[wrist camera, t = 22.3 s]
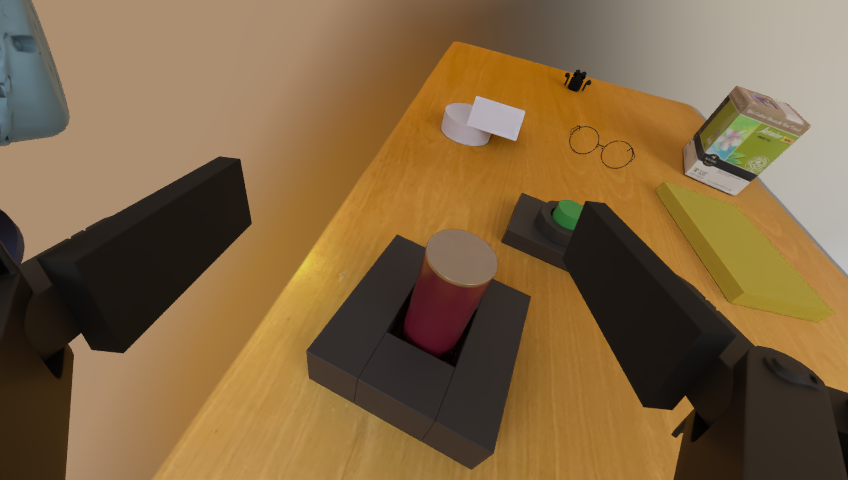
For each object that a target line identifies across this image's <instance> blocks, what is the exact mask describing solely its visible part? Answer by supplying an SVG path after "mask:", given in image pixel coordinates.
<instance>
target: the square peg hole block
mask: <svg viewBox="0 0 848 480" xmlns="http://www.w3.org/2000/svg"><path fill="white" fill-rule="evenodd" d="M425 250H426V248H425V247H423V246H421V245H419V244H416V243H414V242H412V241H410V240H408V239H406V238H403V237H401V236H399V235H396V236H395V238H394V239H393V240H392V242H391V243H390V244H389V245H388V247H387V248H386V249H385V251H384V252H383V253H382V254H381V256H380V257H379V258H378V260H377V261H376V262H375V263H374V265H373V266H372V267H371V269H370V270H369V271H368V272H367V274H366V275H365V276H364V278H363V279H362V280H361V281H360V283H359V284H358V285H357V287H356V288H355V289H354V290H353V292H352V293H351V294H350V296H349V297H348V298H347V299H346V301H345V302H344V303H343V305H342V306H341V307H340V308H339V310H338V311H337V312H336V314H335V315H334V316H333V317H332V319H331V320H330V321H329V322H328V324H327V325H326V326H325V328H324V329H323V330H322V331H321V333H320V334H319V335H318V337H317V338H316V339H315V340H314V342H313V343H312V344H311V346H310V347H309V348H308V349H307V351H306V352H307V362H308V372H309V378H310V379H312V380H313V381H315V382H317V383H319V384H321V385H322V386H324V387H326V388H328V389H329V390H331V391H333V392H335V393H336V394H338V395H340V396H342V397H344V398H345V399H347V400H349V401H351V402H352V403H354V404H356V405H358V406H360V407H361V408H363V409H365V410H367V411H368V412H370V413H372V414H374V415H375V416H377V417H379V418H381V419H383V420H384V421H386V422H388V423H390V424H391V425H393V426H395V427H397V428H398V429H400V430H402V431H404V432H406V433H407V434H409V435H411V436H413V437H414V438H416V439H418V440H420V441H421V440H422V442H423V443H425V444H427V445H429V446H430V447H432V448H434V449H436V450H438V451H439V452H441V453H443V454H445V455H446V456H448V457H450V458H452V459H453V460H455V461H457V462H459V463H461V464H462V465H464V466H466V467H468V468H469V469H473V468H475V467H476V466H477V465H479V464H480V463H481V462H483V461H484V460H485V459H487V458H488V457H490V456H491V455H492V454H493V453H494V449H495V445H496V441H497V436H498V432H499V428H500V424H501V420H502V415H503V411H504V407H505V403H506V399H507V394H508V390H509V386H510V382H511V378H512V373H513V369H514V365H515V361H516V357H517V352H518V348H519V344H520V340H521V336H522V332H523V327H524V323H525V319H526V315H527V311H528V306H529V302H530V298H531V297H530V296H528V295H526V294H524V293H522V292H520V291H518V290H515V289H513V288H511V287H509V286H507V285H505V284H503V283H500V282H498V281H496V280H494V279H492V280H491V282H490V284H489V286H488V288H487V289H486V291H485V293H484V295H483V297H482V298H481V300H480V302H479V304H478V306H477V307H476V309H475V311H474V313H473V315H472V317H471V318H470V320H469V322H468V324H467V326H466V327H465V329H464V331H463V333H462V335H463V336H462V339H461V341H460V344H459V346H458V349H457V351H456V354H455V356H454V359H453V362H452V364H451V365H449V364H447V363H445V362H444V361H442V360H440V359H438V358H436V357H434V356H432V355H430V354H428V353H426V352H424V351H422V350H420V349H418V348H416V347H415V346H413V345H411V344H409V343H407V342H405V341H403V340H401V339H399V338H397V337H395V336H393V335H394V333H395V332H396V330H397V328H398V326H399V325H400V323H401V321H402V319H403V318H404V316H405V314H406V313H407V310H408V307H409V304H410V300H411V297H412V294H413V290H414V287H415V283H416V280H417V277H418V273H419V270H420V267H421V263H422V260H423V257H424V253H425Z"/></svg>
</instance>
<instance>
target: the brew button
mask: <svg viewBox="0 0 848 480" xmlns="http://www.w3.org/2000/svg"><path fill="white" fill-rule="evenodd" d="M582 209H583V206H581V205H580V204H578V203H576V202H574V201H571V200H562V201H560V202H559V204H558V205H557V207H556V208H555V210H554V212H553V213H552V217H553V219H554V220H555V221H556V222H557V223H558V224H560V225H561V226H563V227H565V228H568V229H570V230H574V228H575V226H576V223H577V221H578V218H579V216H580V214H581V211H582Z"/></svg>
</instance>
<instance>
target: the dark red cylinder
mask: <svg viewBox="0 0 848 480" xmlns="http://www.w3.org/2000/svg"><path fill="white" fill-rule="evenodd" d="M497 266H498V263H497V257H496V255H495V253H494V251H493V249H492V248H491V247H490V246H489V244H488V243H486V242H485V241H484V240H483V239H481V238H480V237H478V236H477V235H475V234H472V233H470V232H467V231H463V230H457V229H449V230H443V231H440V232H438V233H436V234H435V235H433V236H432V237H431V238H430V240H429V241H428V243H427V246H426V250H425V253H424V257H423V260H422V263H421V267H420V270H419V273H418V277H417V280H416V283H415V287H414V290H413V294H412V297H411V300H410V304H409V307H408V310H407V314H406V317H405V320H404V324H403V327H402V330H401V334H400V337H399V339H401V340H403V341H405V342H407V343H409V344H411V345H413V346H415V347H416V348H418V349H420V350H422V351H424V352H426V353H428V354H430V355H432V356H434V357H436V358H438V359H440V360H442V361H444V362H445V363H446V362H447V360H448V358H449V356H450V355H451V353H452V351H453V349H454V347H455V345H456V344H457V342H458V340H459V338H460V336H461V335H462V333H463V331H464V329H465V327H466V326H467V324H468V322H469V320H470V318H471V317H472V315H473V313H474V311H475V309H476V307H477V306H478V304H479V302H480V300H481V298H482V297H483V295H484V293H485V291H486V289H487V288H488V286H489V284H490V282H491V280H492V279H493V277H494V275H495V273H496V271H497Z"/></svg>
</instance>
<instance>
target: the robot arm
mask: <svg viewBox="0 0 848 480" xmlns="http://www.w3.org/2000/svg"><path fill="white" fill-rule="evenodd" d="M68 122H69V110H68V106H67V102H66V98H65V94H64V91H63V88H62V84H61V81H60V78H59V75H58V72H57V69H56V66H55V63H54V60H53V57H52V54H51V51H50V48H49V46H48V43H47V40H46V37H45V35H44V32H43V29H42V26H41V24H40V21H39V18H38V15H37V13H36V10H35V8H34V5H33V3H32V0H0V146H6V145H9V144H10V143H11V142H18V141H25V140H32V139H39V138H46V137H52V136H55V135H58V133H60V132H62V131H63V130H65V128H66V126H67V125H68ZM251 223H252V222H251V216H250V211H249V205H248V200H247V194H246V189H245V183H244V177H243V172H242V167H241V161H240V159H236V158H227V157H218V158H216V159H214V160H212V161H210V162H209V163H207V164H205V165H203V166H201V167H200V168H198V169H196V170H194V171H192V172H191V173H189V174H187V175H185V176H183V177H182V178H180V179H178V180H176V181H174V182H173V183H171V184H169V185H167V186H165V187H164V188H162V189H160V190H158V191H156V192H155V193H153V194H151V195H149V196H147V197H146V198H144V199H142V200H140V201H138V202H137V203H135V204H133V205H131V206H129V207H128V208H126V209H124V210H122V211H120V212H118V213H117V214H115V215H113V216H110V217H108V218H104V219H102V220H100V221H98V222H96V223H95V224H93V225H91V226H89V227H87V228H86V230H85V231H83V230H82V231H80V232H78V233H76V234H75V235H73V236H71V239H65V240H64V241H62V242H60V243H58V244H56V245H55V246H53V247H51V248H49V249H47V250H45V251H44V252H42V253H40V254H38V255H37V256H34V257H33V258H31V259H29V260H27V261H25V262H24V263H22V264H20V265H18V266H17V265H16V263H15V262H14V260H13V259H12V257H11V256H10V254H9V252H8V251H7V249H6V248H5V246H4V245H3V243H2V242H1V240H0V480H65V475H66V462H67V446H68V432H69V418H70V403H71V389H72V388H71V387H72V374H73V360H74V354H73V352H72V349H71V348H70V346H69V345H68V343H70V342H71V341H72V340H73V339H74V338H76V337H77V336H78V335H79V334H80V333H82V335H83V336H84V338H85V340H86V341H87V343H88V344H89V346H90V348H91V350H97V351H107V352H116V353H124V352H125V351H126V350H127V349H128V348H129V347H130V346H131V345H132V344H133V343H134V342H135V341H136V340H137V339H138V338H139V337H140V336H141V335H142V334H143V333H144V332H145V331H146V330H147V329H148V328H149V327H150V326H151V325H152V324H153V323H154V322H155V321H156V320H157V319H158V318H159V317H160V316H161V315H162V314H163V313H164V312H165V311H166V310H167V309H168V308H169V307H170V306H171V305H172V304H173V303H174V302H175V300H177V299H178V297H180V296H181V294H183V293H184V292H185V291H186V290H187V289H188V288H189V286H191V285H192V283H194V281H195V280H196V279H197V278H198V277H199V276H200V275H201V274H202V273H203V272H204V271H205V270H206V269H207V268H208V267H209V266H210V265H211V264H212V263H213V262H214V261H215V260H216V259H217V258H218V257H219V256H220V255H221V254H222V253H223V252H224V251H225V250H226V249H227V248H228V247H229V246H230V245H231V244H232V243H233V242H234V241H235V240H236V239H237V238H238V237H239V236H240V235H241V234H242V233H243V232H244V231H245V230H246V229H247V228H248V227H249V226H250V225H251ZM562 260H563V262H564V264H565V266H566V268H567V270H568V271H569V273H570V275H571V277H572V279H573V280H574V282H575V284H576V286H577V288H578V289H579V291H580V293H581V295H582V297H583V299H584V300H585V302H586V304H587V306H588V308H589V309H590V311H591V313H592V315H593V317H594V318H595V320H596V322H597V324H598V326H599V328H600V329H601V331H602V333H603V335H604V337H605V338H606V340H607V342H608V344H609V346H610V347H611V349H612V351H613V353H614V355H615V356H616V358H617V360H618V362H619V364H620V366H621V367H622V369H623V371H624V373H625V375H626V376H627V378H628V380H629V382H630V384H631V385H632V387H633V389H634V391H635V393H636V395H637V396H638V398H639V400H640V402H641V404H642V405H643V407H647V408H657V409H667V410H673V409H674V408H675V406H676V405H677V404H678V403H679V402H680V401H681V400H682V398H683V397H684V396H685V395H686V397H687V398H688V400H689V401H690V403H691V404H692V406H693V407H694V409H693V410H692V411H691V413H690V414H689V415H688V416H687V417H686V418H685V419H684V420H683V421H682V422H681V423H680V424H679V426H678V427H677V428H676V429H675V430H674V431H673V433H672V434H671V435H672V436H674V437H675V438H676V437H677V436H678V435H679V434H680V433H683V437H682V442H681V447H680V452H679V456H678V461H677V466H676V471H675V475H674V480H848V393H846V392H843V391H840V390H837V389H834V388H831V387H828V386H825V384H824V382H823V381H822V380H821V379H820V378H819V377H818V376H817V375H816V374H815V373H814V372H813V371H812V370H810V369H809V368H808V367H806V366H805V365H803V364H802V363H801V362H799V361H797V360H795V359H794V358H792V357H790V356H788V355H786V354H784V353H782V352H779V351H777V350H774V349H771V348H767V347H762V346H754V345H753V344H752V343H751V342H750V341H749V340H748V339H747V338H746V337H745V336H744V335H743V334H742V333H741V332H740V331H739V330H738V329H737V328H736V327H735V326H734V325H733V324H732V323H731V322H730V321H729V320H728V319H727V318H726V317H725V316H724V315H723V314H722V313H721V312H720V311H717V310H716V308H715V307H714V306H713V305H712V304H711V303H710V302H709V301H708V300H705V297H704V296H703V295H702V294H701V293H700V292H699V291H698V290H697V289H696V288H695V287H694V286H693V285H692V284H690V283H689V282H687V281H686V280H684V279H682V278H681V277H679V276H678V275H676V274H675V273H674V272H673V271H672V270H671V269H670V268H669V267H668V266H667V265H666V264H665V263H664V262H663V261H662V260H661V259H660V258H659V257H658V256H657V255H656V254H655V253H654V252H653V251H652V250H651V249H650V248H649V247H648V246H647V245H646V244H645V243H644V242H643V241H642V240H641V239H640V238H639V237H638V236H637V235H636V234H635V233H634V232H633V231H632V230H631V229H630V228H629V227H628V226H627V225H626V224H625V223H624V222H623V221H622V220H621V219H620V218H619V217H618V216H617V215H616V214H615V213H614V212H613V211H612V210H611V209H610V208H609V207H608V206H607V205H606V204H605V203H599V202H591V201H585V204H584V206H583V209H582V211H581V214H580V216H579V218H578V221H577V223H576V226H575V228H574V231H573V233H572V236H571V238H570V241H569V243H568V246H567V248H566V251H565V253H564V256H563V258H562Z"/></svg>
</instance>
